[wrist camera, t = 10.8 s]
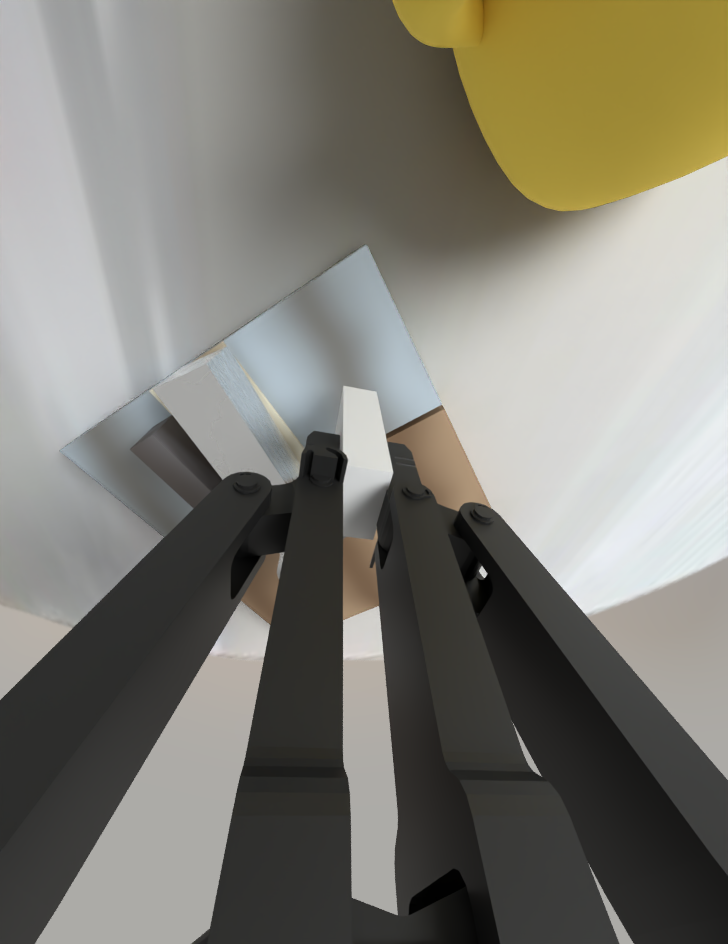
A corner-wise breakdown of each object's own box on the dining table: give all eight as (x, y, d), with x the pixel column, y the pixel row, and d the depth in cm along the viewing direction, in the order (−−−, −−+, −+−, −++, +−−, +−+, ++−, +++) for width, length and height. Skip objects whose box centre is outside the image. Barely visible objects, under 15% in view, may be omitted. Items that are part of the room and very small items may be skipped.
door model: (364, 244, 17) (370, 244, 13) (501, 532, 27) (527, 579, 23) (82, 434, 21) (24, 476, 17) (293, 619, 31) (286, 671, 27)
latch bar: (347, 532, 23) (348, 588, 19) (302, 548, 23) (294, 606, 19) (234, 342, 16) (202, 370, 12) (175, 370, 17) (127, 406, 13)
